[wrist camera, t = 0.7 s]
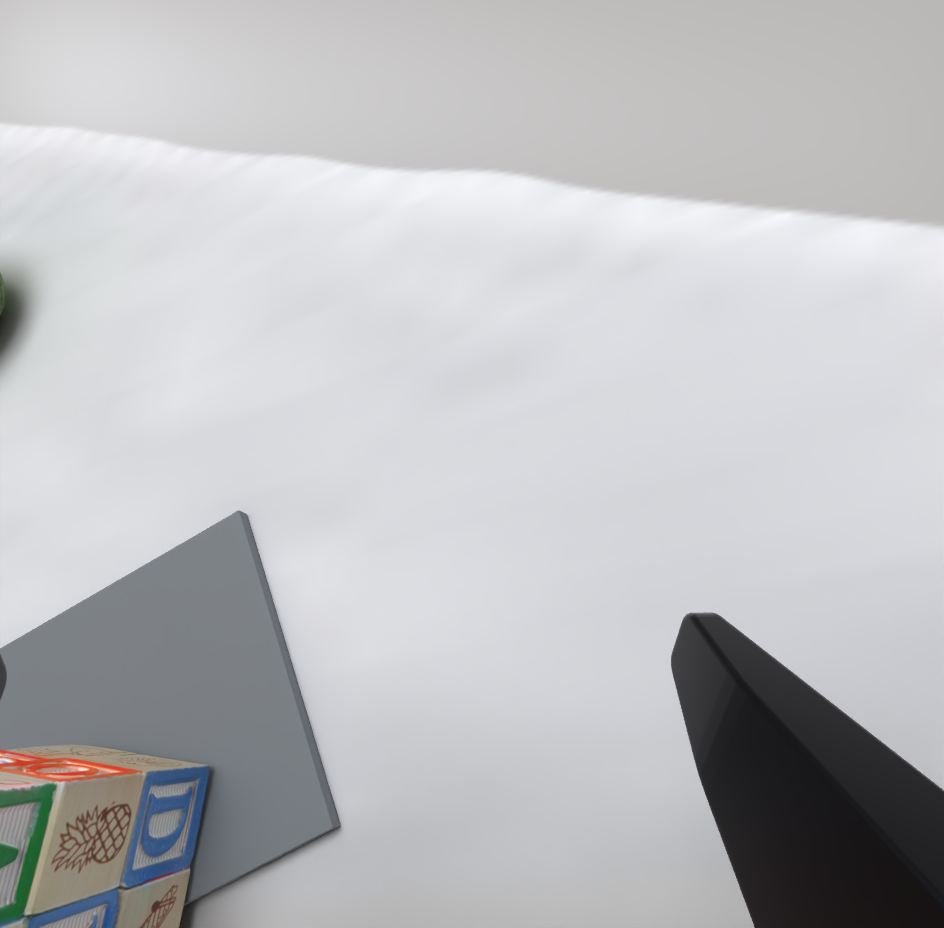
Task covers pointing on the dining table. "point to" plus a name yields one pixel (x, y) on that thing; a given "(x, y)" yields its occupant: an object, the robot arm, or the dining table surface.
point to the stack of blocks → (96, 837)
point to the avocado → (1, 295)
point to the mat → (184, 696)
